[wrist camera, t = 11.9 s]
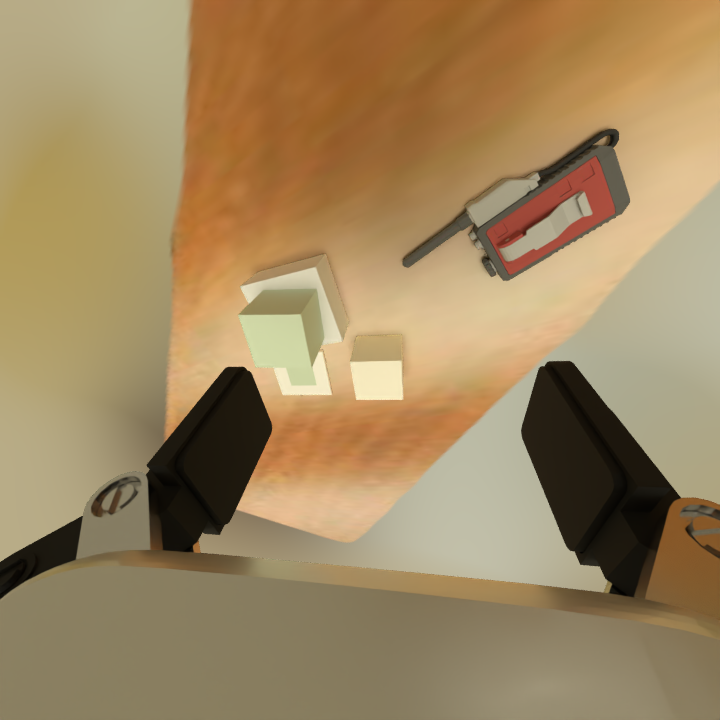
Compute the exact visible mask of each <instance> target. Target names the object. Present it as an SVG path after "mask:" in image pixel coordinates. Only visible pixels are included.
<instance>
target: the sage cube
mask: <svg viewBox="0 0 720 720" xmlns="http://www.w3.org/2000/svg"><path fill="white" fill-rule="evenodd" d="M238 316H239V319H240V322H241V325H242V328H243V331H244V334H245V337H246V340H247V343H248V346H249V349H250V352H251V355H252V358H253V361H254V364H255V367H264V368H312V367H313V364H314V362H315V359H316V357H317V355H318V352H319V350H320V348H321V345H322V343H323V340H324V338H325V337H324V330H323V324H322V318H321V312H320V306H319V299H318V293H317V289H282V290H263V291H262V292H261V293H260V294H259V295H258V296H257V297H256V298H255V299H254V300H253V301H252V302H251V303H250V304H249V305H248V306H247V307H246V308H245V309H244V310H243V311H242V312H241V313H240V314H239V315H238Z"/></svg>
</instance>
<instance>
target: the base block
mask: <svg viewBox="0 0 720 720" xmlns="http://www.w3.org/2000/svg"><path fill="white" fill-rule="evenodd" d="M240 288H241V290H242V292H243V294H244V295H245V297H246V299H247V301H248V303H249V304H250V303H251V302H252V301H253V300H254V299H255V298H256V297H257V296H258V295H259V294H260V293H261V292H262V291H263V290H282V289H317V293H318V299H319V306H320V312H321V318H322V324H323V330H324V337H325V338H324V340H323V343H322V345H326V344H331V343H337V342H342V341H343V339H344V336H345V333H346V330H347V327H348V324H349V321H348V318H347V315H346V312H345V309H344V306H343V303H342V300H341V297H340V294H339V291H338V289H337V286H336V283H335V280H334V277H333V274H332V271H331V268H330V265H329V262H328V259H327V256H326V254H322V255H319V256H315V257H311V258H307V259H304V260H300V261H296V262H293V263H289V264H285V265H281V266H278V267H274V268H270V269H267V270H263V271H259V272H257V273H256V274H254V275H253V276H252V277H251V278H250V279H248V280H247V281H246V282H245V283H244V284H242V285H241V286H240Z"/></svg>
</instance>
